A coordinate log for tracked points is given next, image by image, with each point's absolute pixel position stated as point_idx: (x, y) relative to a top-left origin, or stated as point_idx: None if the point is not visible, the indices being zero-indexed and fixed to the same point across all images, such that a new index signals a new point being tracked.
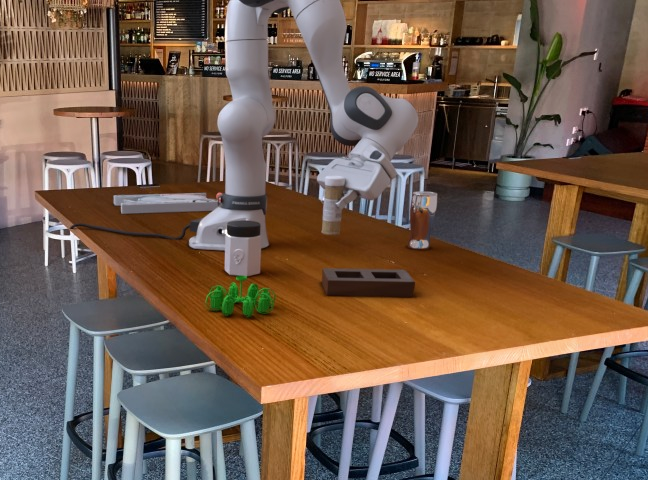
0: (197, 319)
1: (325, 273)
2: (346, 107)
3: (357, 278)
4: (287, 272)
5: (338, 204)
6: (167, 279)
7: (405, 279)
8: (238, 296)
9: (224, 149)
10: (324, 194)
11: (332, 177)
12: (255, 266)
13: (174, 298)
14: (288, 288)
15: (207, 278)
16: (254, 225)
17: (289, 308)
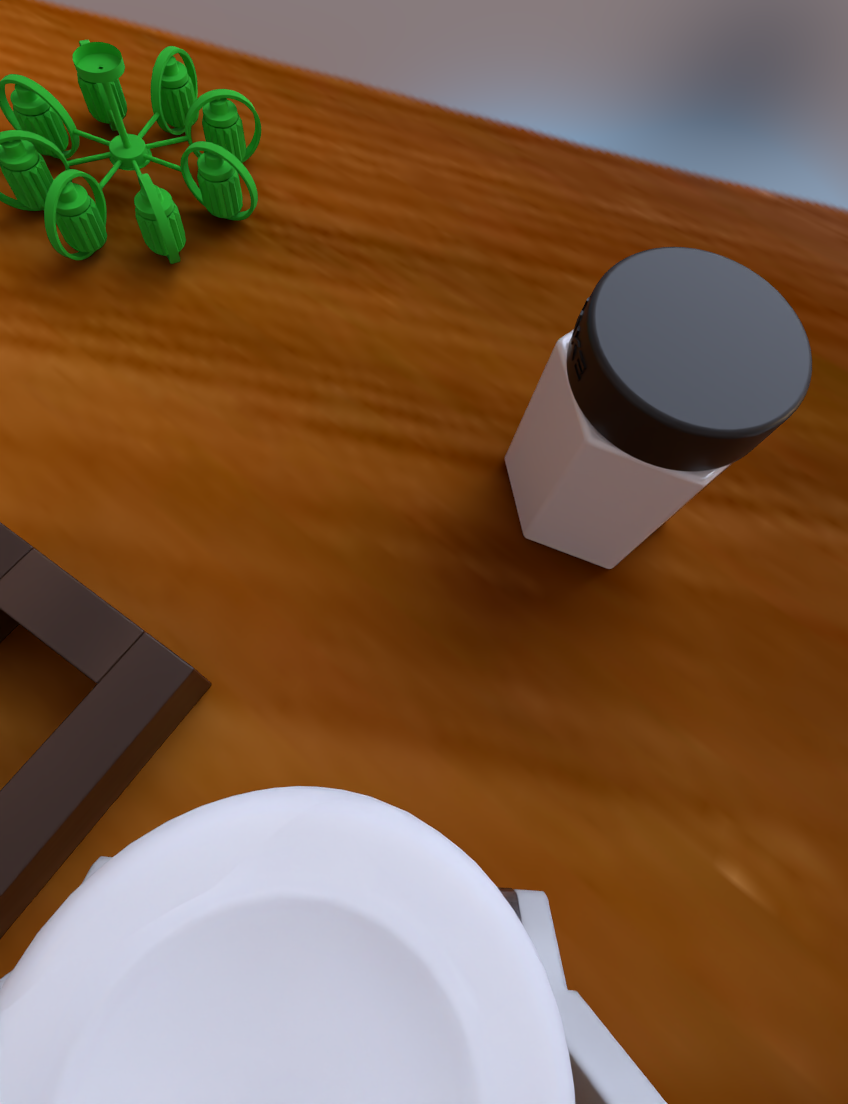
0: (151, 55)
1: (96, 599)
2: None
3: None
4: (482, 674)
5: (102, 858)
6: (614, 220)
7: None
8: (158, 159)
9: None
10: (568, 990)
11: (197, 905)
12: (524, 487)
13: (385, 121)
14: (242, 484)
15: (561, 326)
16: (611, 343)
17: (18, 306)
